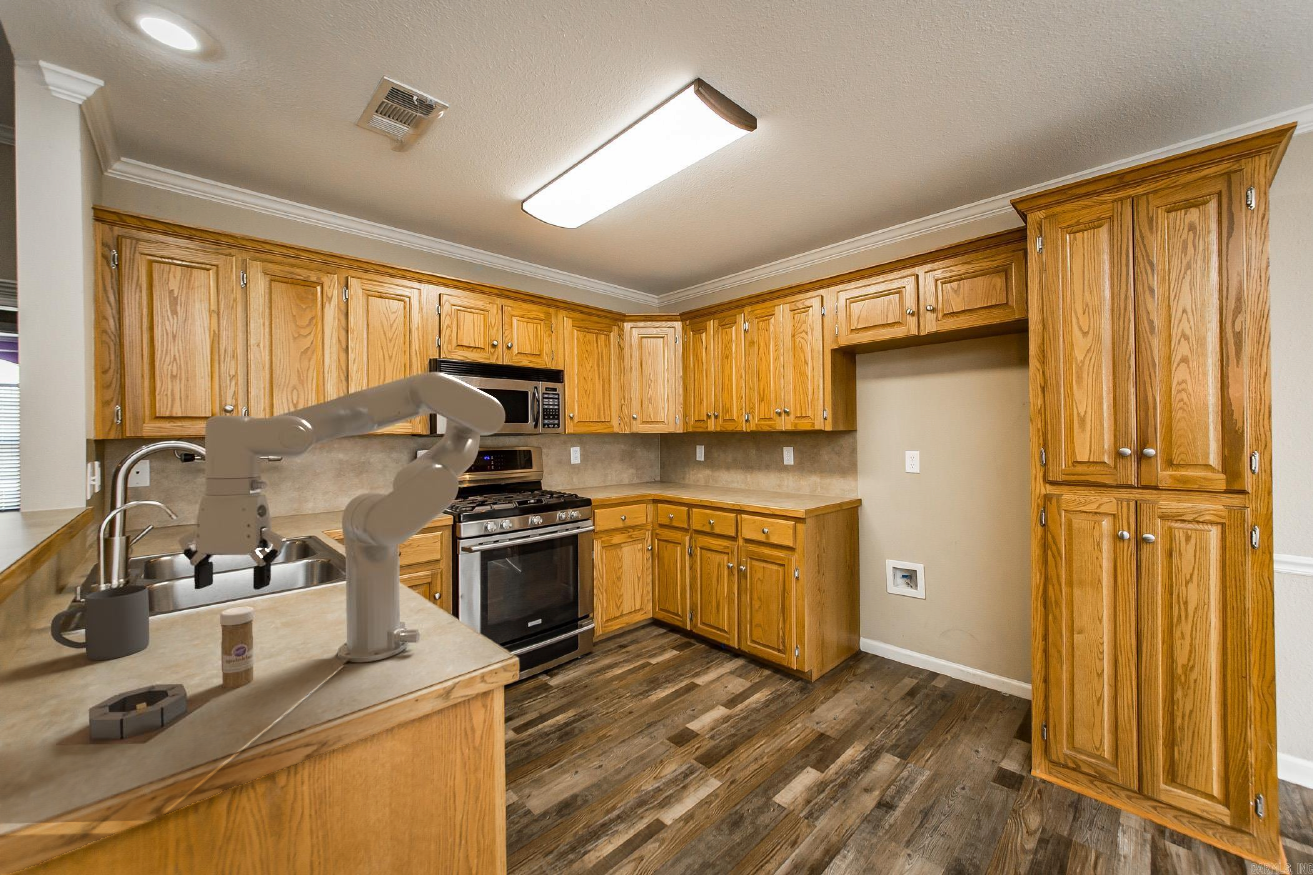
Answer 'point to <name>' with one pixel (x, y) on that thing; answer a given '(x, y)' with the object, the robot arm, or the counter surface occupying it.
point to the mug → (111, 623)
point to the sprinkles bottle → (237, 647)
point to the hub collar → (137, 712)
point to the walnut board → (84, 736)
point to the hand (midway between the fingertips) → (232, 587)
